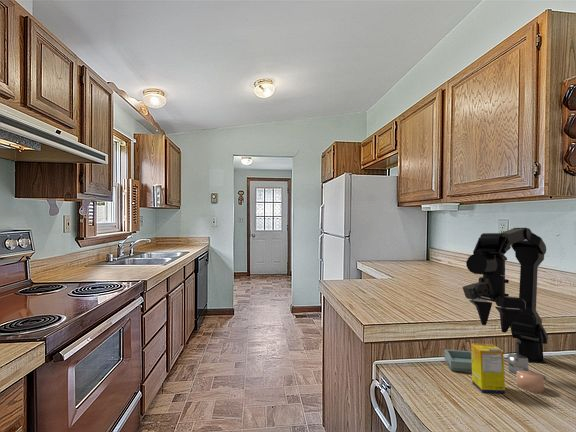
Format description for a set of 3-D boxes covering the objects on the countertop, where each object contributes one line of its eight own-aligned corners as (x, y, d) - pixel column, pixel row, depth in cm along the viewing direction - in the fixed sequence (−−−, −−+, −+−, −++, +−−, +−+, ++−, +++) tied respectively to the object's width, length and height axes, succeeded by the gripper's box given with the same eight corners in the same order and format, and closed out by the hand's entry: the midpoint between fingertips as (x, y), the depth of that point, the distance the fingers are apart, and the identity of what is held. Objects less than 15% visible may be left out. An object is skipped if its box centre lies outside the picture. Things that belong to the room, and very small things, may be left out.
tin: (524, 369, 102) (523, 354, 102) (531, 376, 97) (531, 360, 98) (505, 368, 104) (505, 353, 104) (512, 374, 99) (511, 359, 99)
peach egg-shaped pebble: (538, 384, 92) (537, 371, 92) (548, 394, 86) (548, 380, 87) (513, 382, 94) (512, 369, 94) (522, 392, 88) (521, 378, 88)
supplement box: (494, 383, 93) (492, 343, 93) (505, 393, 87) (504, 350, 88) (471, 382, 93) (470, 342, 94) (481, 392, 88) (480, 350, 88)
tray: (480, 361, 109) (479, 352, 109) (490, 374, 99) (490, 364, 99) (444, 358, 112) (444, 349, 112) (451, 371, 101) (450, 360, 102)
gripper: (451, 271, 109) (450, 320, 107) (486, 275, 90) (486, 334, 89) (484, 273, 109) (484, 322, 108) (527, 278, 91) (527, 337, 89)
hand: (493, 328), depth 98 cm, fingers open, 9 cm apart
